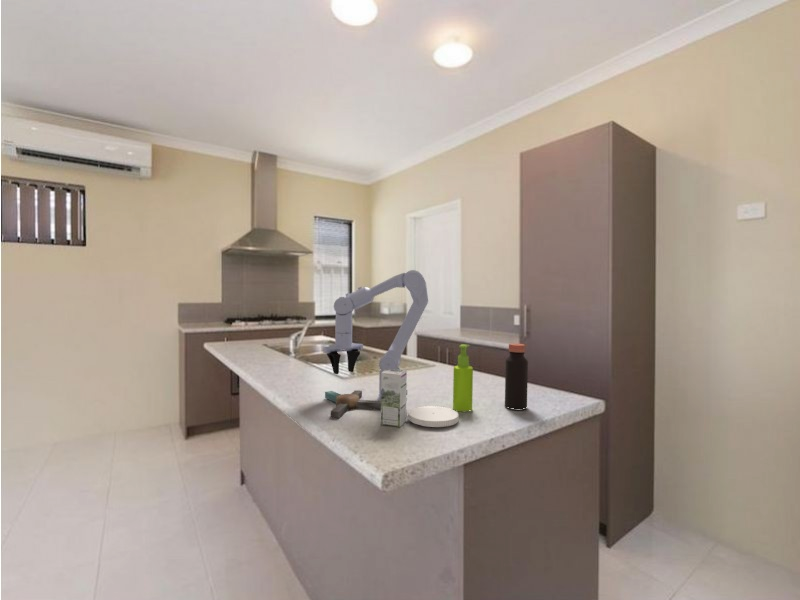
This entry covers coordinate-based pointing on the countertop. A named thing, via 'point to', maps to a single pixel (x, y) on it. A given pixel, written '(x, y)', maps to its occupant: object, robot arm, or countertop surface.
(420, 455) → the countertop surface
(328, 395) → the teal rectangular block
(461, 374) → the soap dispenser
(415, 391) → the countertop surface
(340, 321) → the robot arm
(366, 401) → the grey brown t-shaped piece
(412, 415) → the plastic lid
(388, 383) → the syrup box
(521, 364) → the bottle
